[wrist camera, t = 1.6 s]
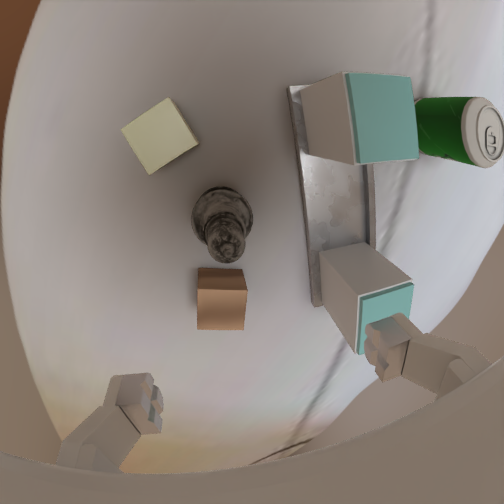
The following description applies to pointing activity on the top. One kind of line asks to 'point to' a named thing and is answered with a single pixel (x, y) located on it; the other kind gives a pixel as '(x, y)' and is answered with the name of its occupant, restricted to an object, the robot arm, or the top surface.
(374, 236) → the rail
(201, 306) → the block walnut
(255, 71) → the top surface
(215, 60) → the top surface
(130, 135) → the block olive
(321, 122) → the block
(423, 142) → the soda can
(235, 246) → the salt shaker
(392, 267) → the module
